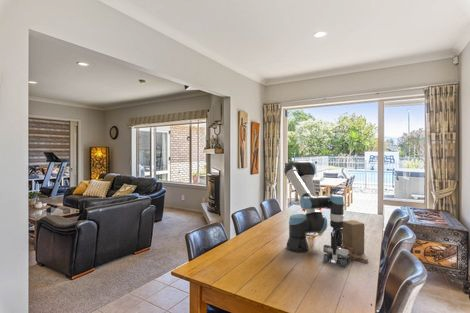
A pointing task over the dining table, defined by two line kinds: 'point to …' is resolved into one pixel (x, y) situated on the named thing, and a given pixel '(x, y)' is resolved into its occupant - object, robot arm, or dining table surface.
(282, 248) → the dining table surface
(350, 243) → the wooden block
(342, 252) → the axle
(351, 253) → the wooden clevis bracket
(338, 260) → the v block
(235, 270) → the dining table surface
